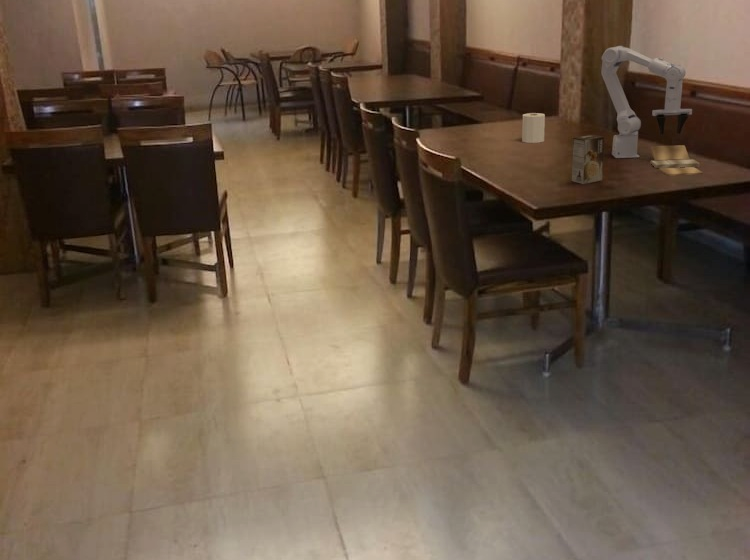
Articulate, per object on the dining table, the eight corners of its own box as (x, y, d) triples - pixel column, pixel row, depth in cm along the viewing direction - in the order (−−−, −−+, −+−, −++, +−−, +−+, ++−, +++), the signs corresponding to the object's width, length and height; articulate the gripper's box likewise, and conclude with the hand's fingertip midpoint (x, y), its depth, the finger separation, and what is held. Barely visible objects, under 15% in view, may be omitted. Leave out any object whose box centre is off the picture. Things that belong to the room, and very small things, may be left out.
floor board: (656, 168, 291) (656, 164, 290) (650, 164, 298) (650, 159, 298) (699, 167, 290) (699, 162, 289) (692, 162, 297) (692, 158, 296)
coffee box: (590, 177, 283) (592, 134, 277) (602, 180, 277) (605, 136, 272) (571, 181, 279) (572, 137, 273) (583, 184, 273) (585, 139, 268)
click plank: (655, 163, 299) (655, 160, 298) (650, 148, 305) (651, 146, 304) (689, 162, 298) (690, 159, 297) (683, 147, 304) (684, 145, 303)
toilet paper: (537, 138, 359) (537, 112, 355) (548, 141, 350) (549, 115, 346) (517, 140, 356) (518, 114, 352) (528, 143, 347) (529, 117, 343)
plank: (667, 177, 280) (667, 174, 279) (658, 171, 288) (659, 168, 288) (703, 175, 280) (703, 172, 279) (693, 170, 288) (693, 167, 288)
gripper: (656, 100, 292) (654, 136, 297) (695, 99, 291) (692, 134, 296) (651, 98, 299) (649, 132, 303) (690, 96, 297) (686, 131, 302)
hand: (670, 133), depth 300 cm, fingers open, 6 cm apart
